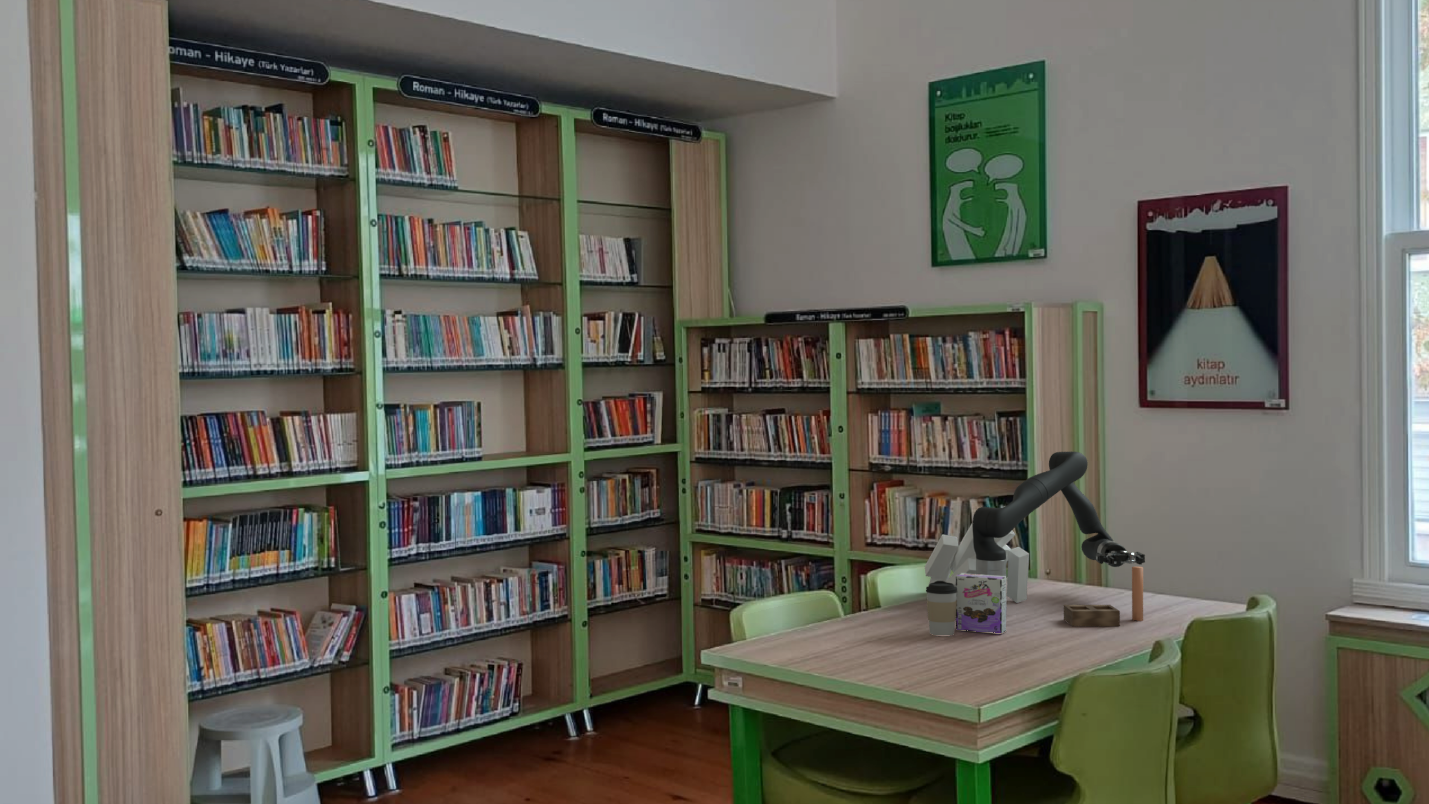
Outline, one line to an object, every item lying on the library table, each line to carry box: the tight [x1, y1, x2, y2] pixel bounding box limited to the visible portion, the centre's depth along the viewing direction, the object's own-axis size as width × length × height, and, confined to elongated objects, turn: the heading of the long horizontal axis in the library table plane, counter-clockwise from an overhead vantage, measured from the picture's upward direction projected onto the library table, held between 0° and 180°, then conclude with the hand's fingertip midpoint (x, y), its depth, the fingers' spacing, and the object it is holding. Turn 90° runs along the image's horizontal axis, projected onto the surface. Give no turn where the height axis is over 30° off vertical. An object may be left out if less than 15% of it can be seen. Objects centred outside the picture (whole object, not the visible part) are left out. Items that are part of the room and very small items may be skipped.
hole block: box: [1063, 604, 1121, 627], centre depth 376 cm, size 14×10×4 cm
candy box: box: [955, 573, 1007, 634], centre depth 366 cm, size 14×6×16 cm, turn 62°
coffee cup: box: [925, 581, 958, 636], centre depth 363 cm, size 9×9×15 cm
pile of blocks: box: [924, 523, 1030, 604], centre depth 412 cm, size 35×30×35 cm
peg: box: [1131, 566, 1144, 622], centre depth 380 cm, size 3×3×16 cm
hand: (1126, 561), depth 391 cm, fingers open, 8 cm apart
